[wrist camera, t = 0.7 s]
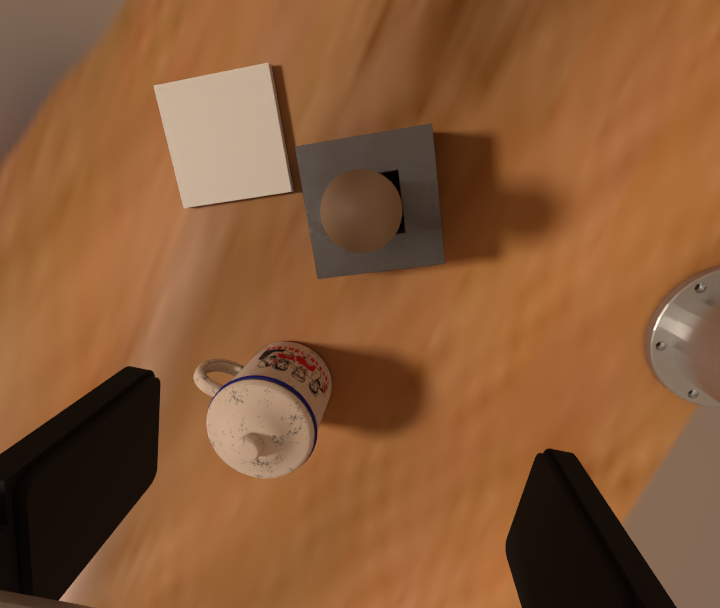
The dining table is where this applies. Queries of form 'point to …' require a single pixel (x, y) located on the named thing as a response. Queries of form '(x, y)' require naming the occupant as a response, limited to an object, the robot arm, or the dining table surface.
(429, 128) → the eye block
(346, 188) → the peg
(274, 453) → the teacup with lid
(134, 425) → the robot arm
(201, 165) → the tile
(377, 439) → the dining table surface
